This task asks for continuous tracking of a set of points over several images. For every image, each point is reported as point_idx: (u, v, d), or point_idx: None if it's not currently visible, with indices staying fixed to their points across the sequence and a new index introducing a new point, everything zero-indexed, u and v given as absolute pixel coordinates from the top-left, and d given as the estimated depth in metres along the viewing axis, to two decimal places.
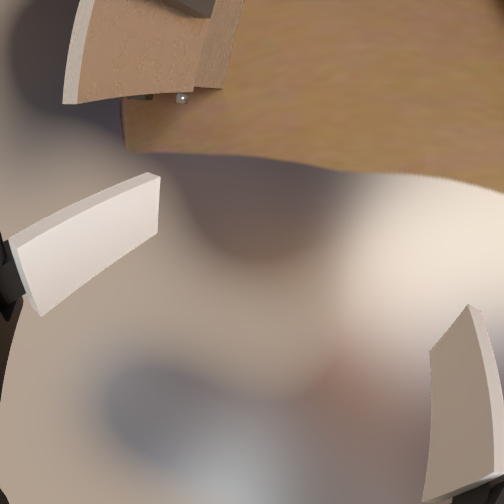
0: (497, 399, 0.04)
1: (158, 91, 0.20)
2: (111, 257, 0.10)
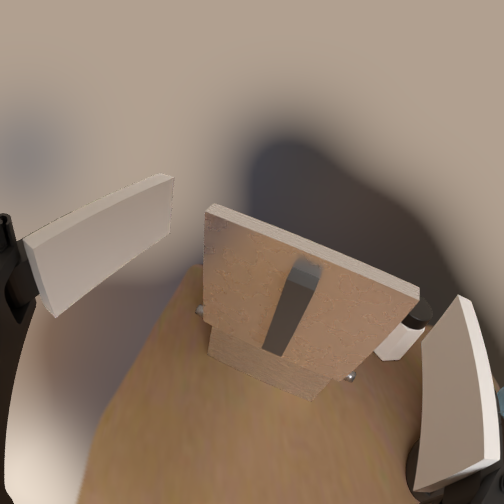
0: (487, 386, 0.05)
1: (204, 285, 0.30)
2: (126, 258, 0.10)
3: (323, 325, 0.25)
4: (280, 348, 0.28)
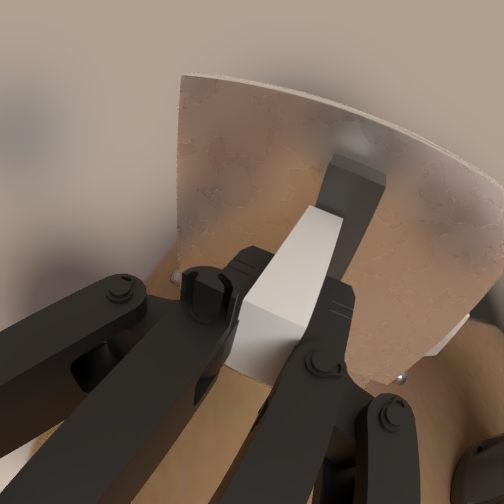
0: (315, 267, 0.08)
1: (178, 224, 0.18)
2: None
3: (382, 281, 0.14)
4: None
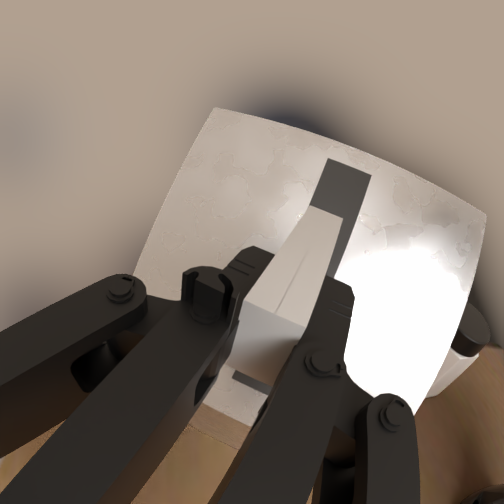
0: (315, 267, 0.08)
1: (148, 240, 0.16)
2: None
3: (370, 296, 0.13)
4: None
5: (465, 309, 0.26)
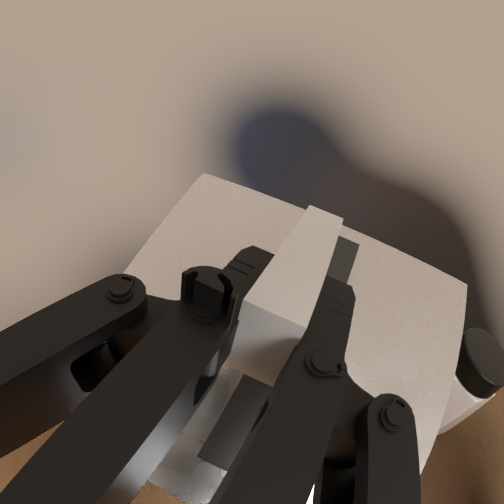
0: (315, 267, 0.08)
1: None
2: None
3: (358, 369, 0.12)
4: None
5: (484, 342, 0.20)
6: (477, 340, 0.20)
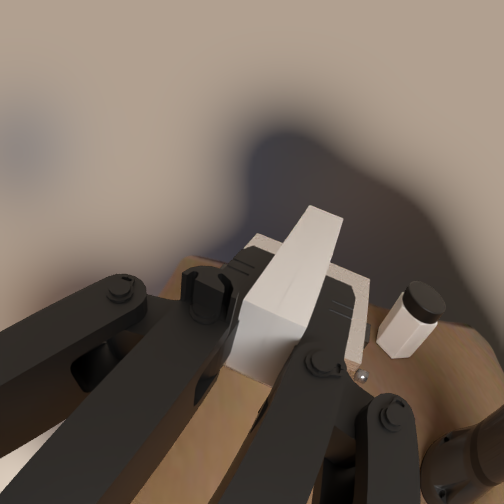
0: (315, 267, 0.08)
1: None
2: None
3: None
4: None
5: (425, 290, 0.41)
6: (419, 287, 0.41)
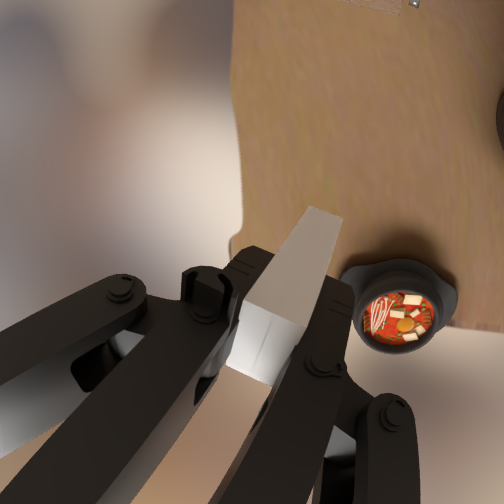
0: (315, 267, 0.08)
1: None
2: None
3: None
4: None
5: None
6: None
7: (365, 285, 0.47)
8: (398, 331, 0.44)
